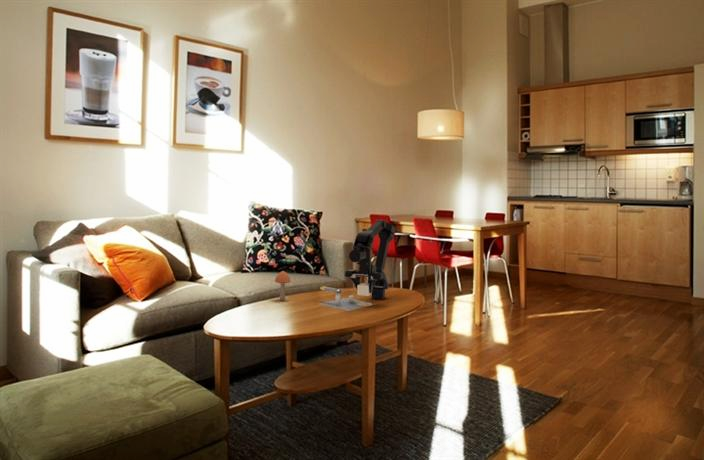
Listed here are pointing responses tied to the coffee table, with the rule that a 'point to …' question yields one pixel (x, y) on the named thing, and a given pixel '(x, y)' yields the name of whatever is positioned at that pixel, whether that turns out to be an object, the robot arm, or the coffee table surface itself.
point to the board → (346, 303)
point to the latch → (331, 289)
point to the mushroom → (282, 283)
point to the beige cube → (363, 289)
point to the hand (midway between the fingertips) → (364, 292)
